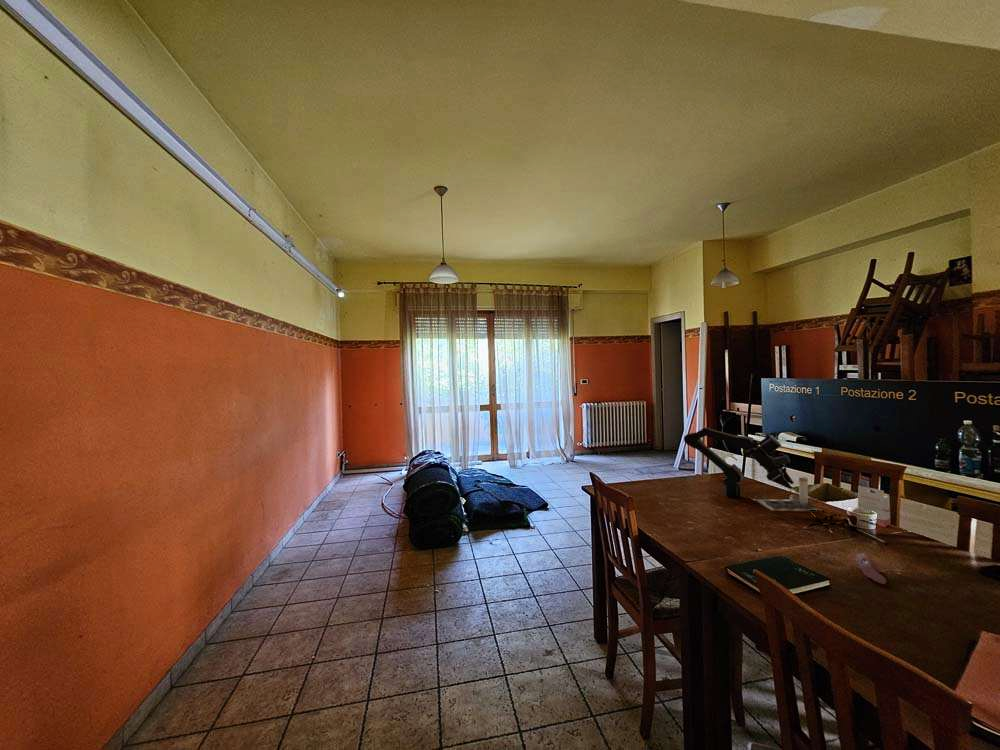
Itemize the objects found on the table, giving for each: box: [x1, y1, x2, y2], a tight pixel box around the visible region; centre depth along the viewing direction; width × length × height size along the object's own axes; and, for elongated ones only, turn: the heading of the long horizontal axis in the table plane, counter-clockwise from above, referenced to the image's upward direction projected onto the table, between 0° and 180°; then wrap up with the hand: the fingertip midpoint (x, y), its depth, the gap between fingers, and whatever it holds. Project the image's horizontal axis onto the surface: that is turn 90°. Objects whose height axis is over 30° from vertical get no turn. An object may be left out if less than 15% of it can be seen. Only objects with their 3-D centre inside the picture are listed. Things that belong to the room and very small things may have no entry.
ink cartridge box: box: [857, 485, 891, 528], centre depth 153 cm, size 9×5×15 cm, turn 25°
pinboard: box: [756, 494, 817, 512], centre depth 173 cm, size 19×12×4 cm, turn 84°
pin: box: [798, 476, 809, 505], centre depth 170 cm, size 3×3×13 cm
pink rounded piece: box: [855, 553, 887, 585], centre depth 116 cm, size 10×5×7 cm, turn 142°
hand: (792, 485), depth 173 cm, fingers open, 9 cm apart
